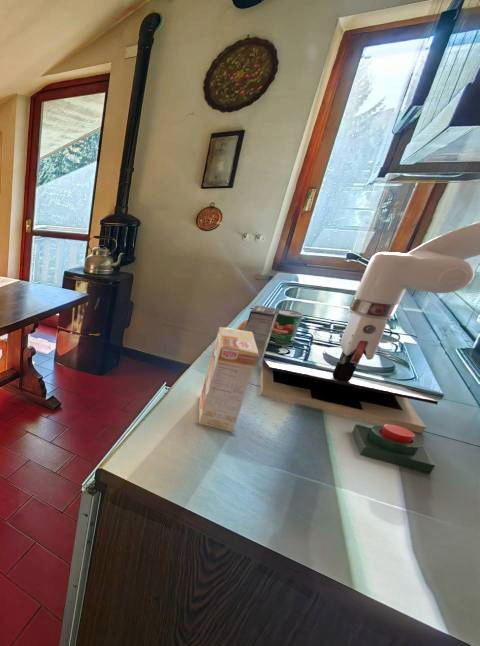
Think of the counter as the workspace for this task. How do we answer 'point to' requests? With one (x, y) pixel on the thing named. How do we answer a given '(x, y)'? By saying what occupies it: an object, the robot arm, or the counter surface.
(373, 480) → the counter surface
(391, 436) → the button
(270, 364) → the laptop screen
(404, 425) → the laptop
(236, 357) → the coffeecake box
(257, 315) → the coffee box
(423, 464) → the switch box
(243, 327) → the egg
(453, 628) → the counter surface
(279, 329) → the canned tomato
